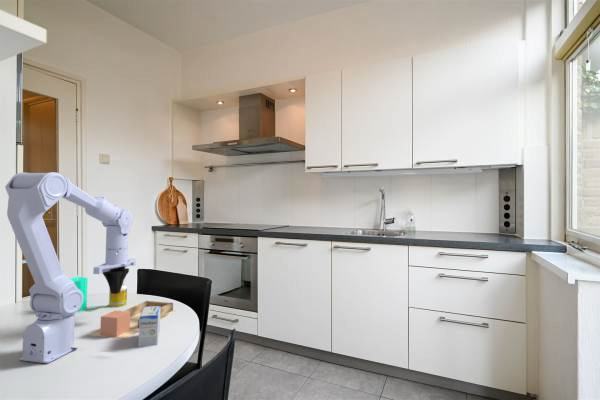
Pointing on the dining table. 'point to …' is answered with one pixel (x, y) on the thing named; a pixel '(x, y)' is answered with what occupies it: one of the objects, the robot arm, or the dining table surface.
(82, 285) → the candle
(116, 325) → the block
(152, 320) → the medicine box
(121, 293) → the supplement bottle
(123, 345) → the dining table surface
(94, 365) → the dining table surface
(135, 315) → the tray
